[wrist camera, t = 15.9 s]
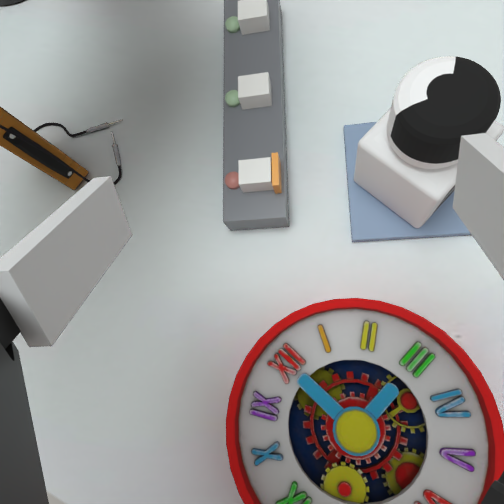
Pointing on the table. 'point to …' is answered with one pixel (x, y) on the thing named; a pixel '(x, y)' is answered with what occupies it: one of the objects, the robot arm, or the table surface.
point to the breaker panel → (254, 117)
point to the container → (426, 135)
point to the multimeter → (46, 150)
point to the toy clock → (361, 412)
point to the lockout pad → (383, 218)
